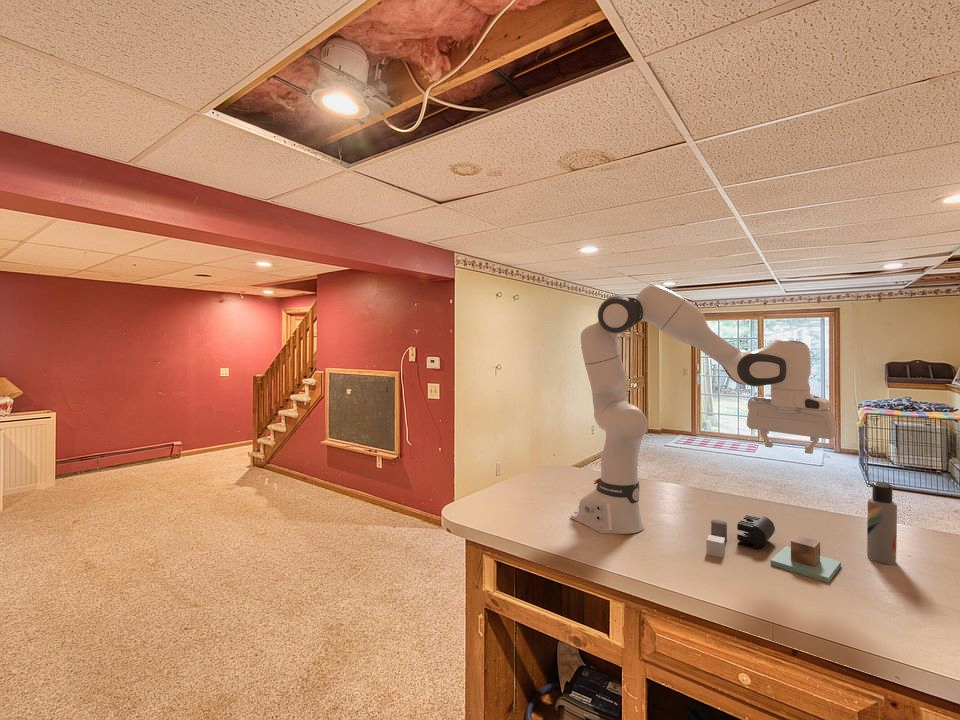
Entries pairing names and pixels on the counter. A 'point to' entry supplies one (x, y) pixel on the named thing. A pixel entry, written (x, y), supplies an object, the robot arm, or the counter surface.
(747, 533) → the end cap
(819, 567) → the teal board
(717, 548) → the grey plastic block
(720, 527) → the grey rounded piece
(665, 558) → the counter surface
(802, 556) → the walnut block
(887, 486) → the lotion bottle
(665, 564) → the counter surface
